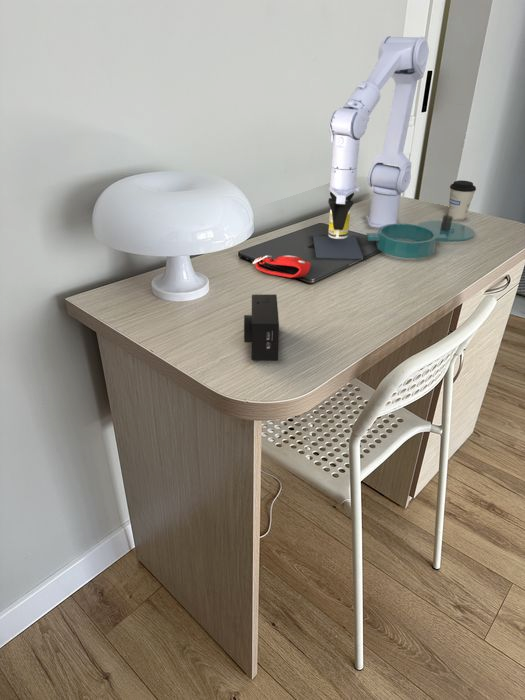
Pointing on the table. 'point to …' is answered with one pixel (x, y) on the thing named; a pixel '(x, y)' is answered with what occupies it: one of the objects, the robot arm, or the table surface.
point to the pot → (403, 248)
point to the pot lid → (449, 229)
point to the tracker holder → (287, 261)
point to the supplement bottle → (338, 233)
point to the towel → (337, 248)
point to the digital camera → (263, 327)
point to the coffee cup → (460, 198)
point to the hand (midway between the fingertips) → (338, 225)
